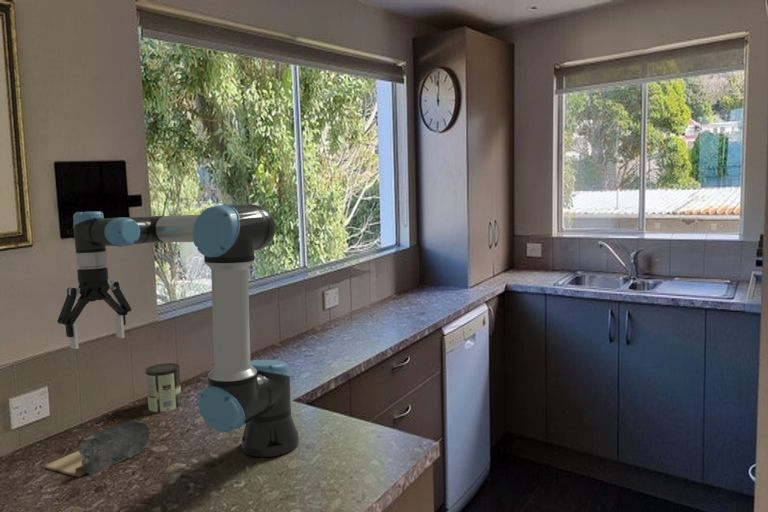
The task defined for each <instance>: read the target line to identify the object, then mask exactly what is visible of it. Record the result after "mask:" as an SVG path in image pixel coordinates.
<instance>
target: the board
mask: <svg viewBox="0 0 768 512" xmlns="http://www.w3.org/2000/svg"><path fill="white" fill-rule="evenodd" d="M44 468H45V469H49V470H52V471H55V472H59V473H63V474H65V475H66V474H67V475H69V476H73V477H76V478H80V477H83V476H85V475H86V474H88V473H87V472H86V471H85V470H84V469H83V468H82V460H81V455H80V453H79V450H77V451H75V452H73V453H69V454H67V455H65V456H63V457H60V458H59V459H56V460H53V461H51V462H50V463H47V464H44Z"/></svg>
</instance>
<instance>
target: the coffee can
mask: <svg viewBox="0 0 768 512" xmlns="http://www.w3.org/2000/svg"><path fill="white" fill-rule="evenodd" d="M180 366H181V365H180V364H178V363H174V362H172V363H171V362H169V363H168V362H166V363H160V364H159V363H158V364H153V365H151V366H149V367H146V368H145V370H144V371H145V378H146V390H147V391H146V393H147V407H148V411H150V412H154V413H164V412H169V411H173V410H175V409H178V408H179V407H180V406H182V402H183V401H182V389H181V373H180V372H181V370H180Z"/></svg>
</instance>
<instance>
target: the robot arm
mask: <svg viewBox="0 0 768 512" xmlns="http://www.w3.org/2000/svg"><path fill="white" fill-rule="evenodd" d="M72 220H73V223H72V224H73V226H72V228H73V236H74V238H73V239H74V247H75V248H74V249H75V256H76V257H75V258H76V259H75V260H76V267H77V268H78V269H77V271H76V273H77V282H78V287H68V288H67V289H66V298H65V300H64V302H63V305H62V308H61V311H60V313H59V316H58V319H57V324H60V325H64V327H65V334H66V337H67V338H69V346H70V347H69V348H70V349H74V350H78V349H79V347H80V346H79V335H78V333H79V332H78V324H75V322H76V321H77V319H78V318H79V316H80V315H81V314H82V312H83V310H84V309H85V307H86V305H87V304H89V302H96V301H102V300H103V301H104V302H105V303H106V304H107V305H108V306H109V308H111V309H112V310H113V311H115V312H116V314H115V315H114V320H115V321H114V322H115V333H116V338H117V339H119V338H120V339H124V338H125V337H126V336H125V328H124V327H125V326H126V323H127V322H126V316H127V315H128V313H129V312H131V311H132V307H131V305H130V304H129V302H128V300H127V299H126V297H125V294H124V293H123V291H122V289H121V286H120V283H119V282H118V281H110V282H108V280H109V273H108V269H109V268H108V267H107V265H108V258H107V247H119V248H120V247H129V246H132V245H141V244H153V243H156V244H157V243H193V244H194V246H195V247H197V249H196V250H197V251H198V252H199V253H200V254H202V255H203V260H204V261H203V262H204V264H205V265H206V266H207V267H208V268H209V269H210V270H211V271H210V272H211V273H210V274H211V304H212V305H211V307H212V310H211V311H212V333H213V334H212V336H213V339H212V340H213V364H214V365H213V368H212V369H211V370H210V371H209V372H208V374H207V383H208V385H207V387H206V388H204V389H203V390H202V391H201V393H200V394H199V397H198V401H197V403H198V410H199V413H200V415H201V417H202V419H203V420H204V422H206V423H207V425H208V427H210V428H212V430H214V431H217V432H220V433H229V432H231V431H232V432H233V430H236V429H240V428H242V427H243V426H244V425H245V427H244V429H243V433H242V438H241V450H242V452H243V453H244V454H246V455H248V456H251V457H257V458H259V457H260V458H269V457H277V456H281V455H284V454H287V453H289V452H292V451H293V450H295V449H296V448H297V447H298V446H299V443H300V438H299V437H300V436H299V435H300V434H299V432H298V430H297V428H296V425H295V422H294V419H293V416H292V405H291V404H292V403H291V402H292V401H291V399H292V398H291V379H290V378H291V374H290V366H289V364H288V363H286V361H282V360H278V359H254V360H251V334H250V333H251V332H250V328H251V327H250V323H251V322H250V296H249V295H250V288H249V287H250V285H249V283H250V282H249V281H250V280H249V268H250V267H251V266H252V264H254V263H255V251H259V250H260V251H261V250H262V249H264V248H265V247H267V246H269V244H270V243H271V242H272V241H273V239H274V237H275V235H276V231H277V230H276V228H277V226H276V221H275V217H274V216H273V214H272V213H271V212H270V211H269V210H268V209H267V208H265V207H263V206H261V205H258V204H257V205H256V204H219V205H213V206H209V207H207V208H206V209H204V210H203V211H202V212H200V214H182V215H181V214H180V215H179V214H178V215H165V216H164V215H153V216H152V215H151V216H137V217H136V216H134V217H133V216H132V217H131V216H130V217H129V216H128V217H120V216H119V217H110V218H109V217H107V218H105V217H104V213H103V212H102V211H100V210H99V211H75V213H73V219H72ZM109 290H110V291H111V293H112V294H113V296H114V298H115V299H114V298H113V296H112V295H111V294H110V293H109V292H108V291H109ZM78 295H80V296H79V297H78V299H77V296H78ZM76 300H77V302H76ZM75 302H76V303H75ZM74 304H75V305H74Z"/></svg>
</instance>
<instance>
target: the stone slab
mask: <svg viewBox="0 0 768 512" xmlns="http://www.w3.org/2000/svg"><path fill="white" fill-rule="evenodd" d="M150 430H151V429H150V428H149V427H148V424H147V423H145V422H137V421H136V420H135V421H134V420H128V421H125V422H122V423H120V424H119V423H118V424H117V425H114V426H112V427H108V428H107V429H106V428H105V429H104V430H101V431H99V432H96V433H94V434H92V435H89V436H88V437H85V438H81V439H79V440H78V444H77V450H78V451H79V453H80V455H81V460H82V468H83V469H84V470H85V471H86V472H87V474H89V476H91V475H93V474H95V473H98V472H100V471H103V470H105V469H107V468H109V467H111V466H114V465H116V464H118V463H121V462H123V461H125V460H128V459H131V458H133V457H135V456H137V455H138V454H140V453H142V452H144V451H146V450H148V449H149V445H148V442H149V441H150Z"/></svg>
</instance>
